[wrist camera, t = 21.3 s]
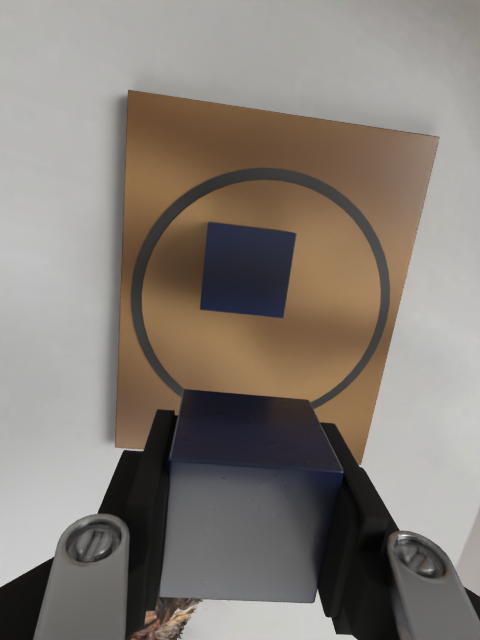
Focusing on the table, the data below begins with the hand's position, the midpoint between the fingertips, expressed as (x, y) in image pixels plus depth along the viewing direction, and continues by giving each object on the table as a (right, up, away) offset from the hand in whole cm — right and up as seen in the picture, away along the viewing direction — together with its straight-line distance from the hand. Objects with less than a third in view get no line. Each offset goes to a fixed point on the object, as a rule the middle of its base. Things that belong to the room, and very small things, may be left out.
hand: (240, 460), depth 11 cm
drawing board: (+1, +5, +10) cm, 12 cm away
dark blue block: (0, 0, +1) cm, 1 cm away
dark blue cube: (0, +7, +9) cm, 12 cm away
